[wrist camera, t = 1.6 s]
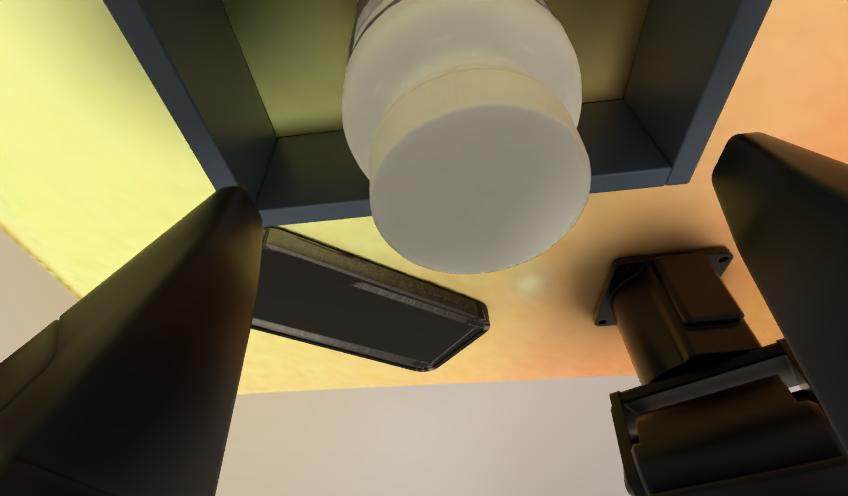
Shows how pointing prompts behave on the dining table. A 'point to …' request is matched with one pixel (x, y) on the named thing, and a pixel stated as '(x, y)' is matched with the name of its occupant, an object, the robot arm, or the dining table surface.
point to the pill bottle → (466, 129)
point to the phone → (359, 306)
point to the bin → (329, 152)
